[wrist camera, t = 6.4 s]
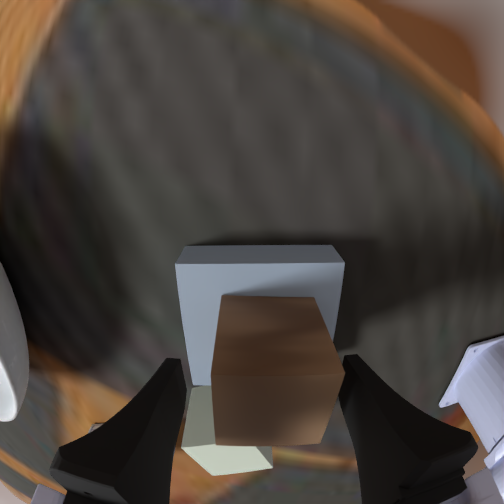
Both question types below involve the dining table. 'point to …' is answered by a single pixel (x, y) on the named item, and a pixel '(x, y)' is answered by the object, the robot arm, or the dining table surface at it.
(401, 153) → the dining table surface
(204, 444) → the sage block
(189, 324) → the base block
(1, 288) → the serving bowl
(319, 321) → the walnut block
